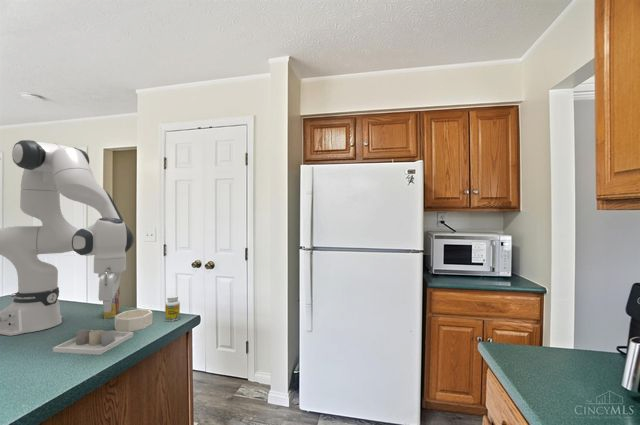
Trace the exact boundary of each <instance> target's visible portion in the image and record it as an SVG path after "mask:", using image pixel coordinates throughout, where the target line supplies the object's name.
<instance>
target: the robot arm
mask: <svg viewBox="0 0 640 425" xmlns="http://www.w3.org/2000/svg"><path fill="white" fill-rule="evenodd" d="M11 157H12V161H13V163H14V164H15V165H16V166H17V167H19V168H20V169H23V172H22V176H21V181H20V202H19V204H20V205H19V207H20V210H21V212H23V213H24V214H25V215H27V216H30V217H32V218H35V219H38V220H40V222H41V225H39V226H38V225H37V226H36V225H35V226H34V225H30V226H29V225H28V226H25V225H22V226H21V225H20V226H18V225H17V226H16V225H15V226H11V227H3V228H0V256H2V257H4V258H5V259H7V260H8V261H9V262H10V263H11V264H12V265H13V266H14V268H15V270H16V273H17V274H16V275H17V282H18V284H17V287H18V288H17V292H15V293H11V298H13V297H14V298H13V300H12V302H11V303H10V304H8V306H6V307H4V308H3V309H1V310H0V335H2V336H3V335H5V336H9V337H12V336H17V335H22V334H26V333H32V332H33V333H34V332H39V331H44V330H46V329H51V328H54V327H56V326H58V325H60V324H62V322H63V315H61V308H60V300H59V296H60V290H59V289H60V288H59V282H58V277H59V276H58V275H59V274H58V272H59V271H58V268H57V267H56V266H55V265H53V264H51V263H48V262H45V261H42V260H41V259H40V258H39V257H38V256H39V255H48V254H52V255H53V254H63V253H70V252H73V251H74V252H75V253H76V254H78V255H79V256H86V257H89V256H93V273H94V274H98V275H97V276H98V278H99V283H98V301H100V302H102V305H103V313H104V312H110V311H111V305H113V304H114V302H115V294H116V291H117V290H118V288H119V289H120V284H121V278H122V275H123V274H122V273H123V272H126V270H127V254H126V253H127V252H128V251H129V250H130V249H131V248H132V247H133V245H134V243H135V236H134V234H133V232H132V231H131V229H130V228H129V227H128V225H127V224H126V223H125V221H124V219H123V217H122V215H121V214H120V213H121V212H120V211H119V209H118V207H117V205H116V204H115V202H114V200H113V198H112V196H111V194H109V192H108V191H107V190H105V189H104V188H103V187H102V186H101V185H100V184H99V183H98V182H97V180H96V179H95V177H94V175H93V171H92V169H91V166H90V157H89V155H88V154H87V152H86V151H84V150H82V149H80V148H77V147H71V146H67V145H64V144H58V143H51V142H43V141H35V140H31V139H27V140H26V139H25V140H23V139H22V140H19V141H18V142H16V143H14V146H13V147H12V152H11ZM60 195H62V196H63V197H65V198H66V199H68V200H70V201H74V202H78V203H80V204H84V205H86V206H89V207H91V208H93V209H94V210H97V212H98V213H99V214H100V216H101V217H100V218H98V219H96V221H95V223H93V224H91V225H90V226H87V227H84V228H80V229H78V227H76V226H74V225H72V224H71V223H69V222H68V221H67V219H66V218H65V216H64V215H63V213H62V211H61V210H62V209H61V200H60V199H61V198H60V197H61V196H60Z"/></svg>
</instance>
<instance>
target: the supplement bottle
mask: <svg viewBox="0 0 640 425" xmlns="http://www.w3.org/2000/svg"><path fill="white" fill-rule="evenodd" d="M166 299H167V301H166V303H165V314H164V315H165V316H164V317H165V321H166V322H176V321H178V320H180V317H181V315H180V313H181V312H180V310H181V309H180V308H181V304H180V303H181V302H180V301H179V296H178V295H176V294H175V295H174V294H173V295H169V296H167V298H166Z"/></svg>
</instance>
